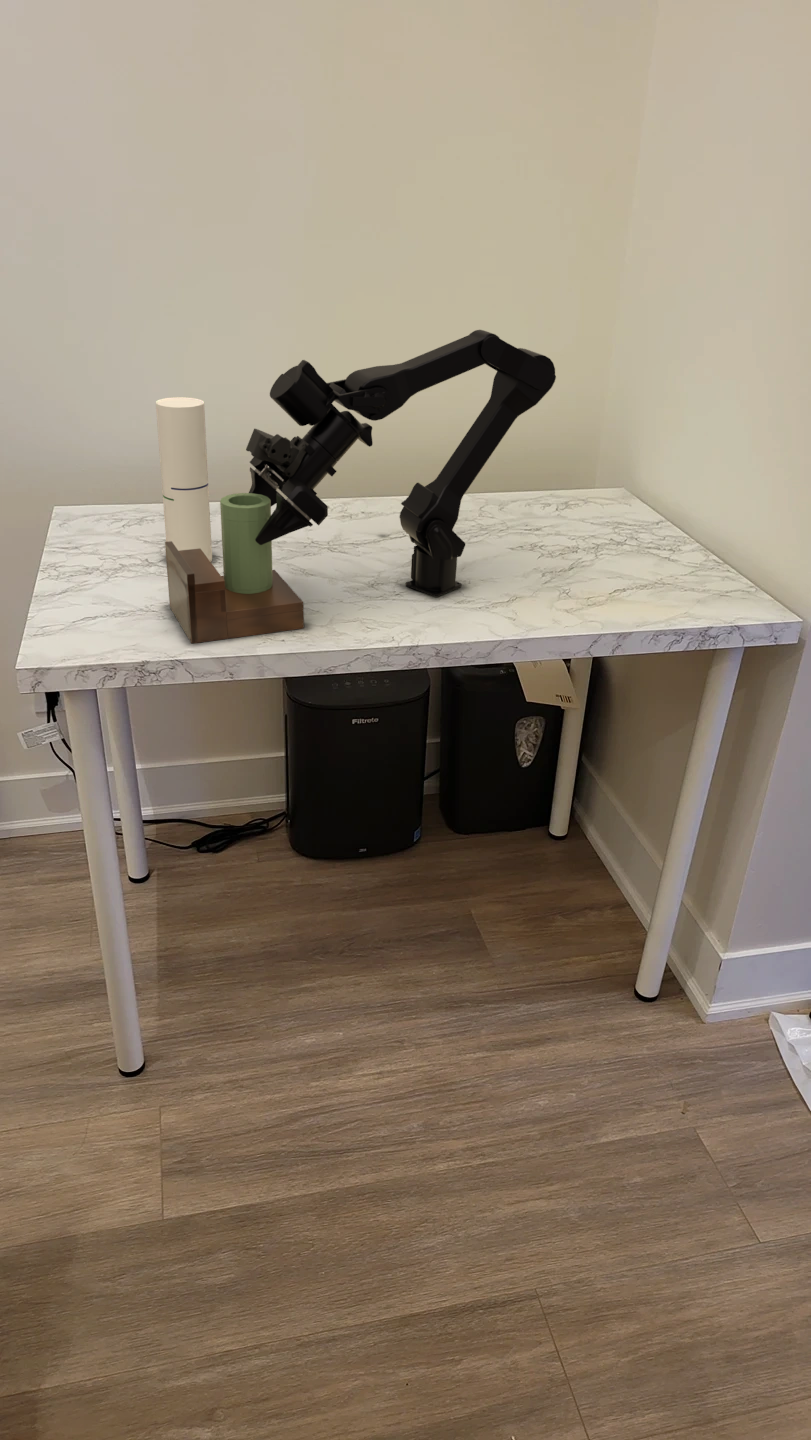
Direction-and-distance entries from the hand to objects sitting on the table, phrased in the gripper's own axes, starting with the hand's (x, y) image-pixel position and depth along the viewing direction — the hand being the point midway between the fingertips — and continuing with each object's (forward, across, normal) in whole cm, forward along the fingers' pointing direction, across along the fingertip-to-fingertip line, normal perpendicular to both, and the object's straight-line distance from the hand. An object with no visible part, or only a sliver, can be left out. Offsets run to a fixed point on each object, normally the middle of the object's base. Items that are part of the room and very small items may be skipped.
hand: (248, 532), depth 145 cm
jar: (+6, 0, +5) cm, 8 cm away
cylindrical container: (+11, -23, +6) cm, 27 cm away
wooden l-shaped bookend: (+10, +2, +6) cm, 12 cm away
